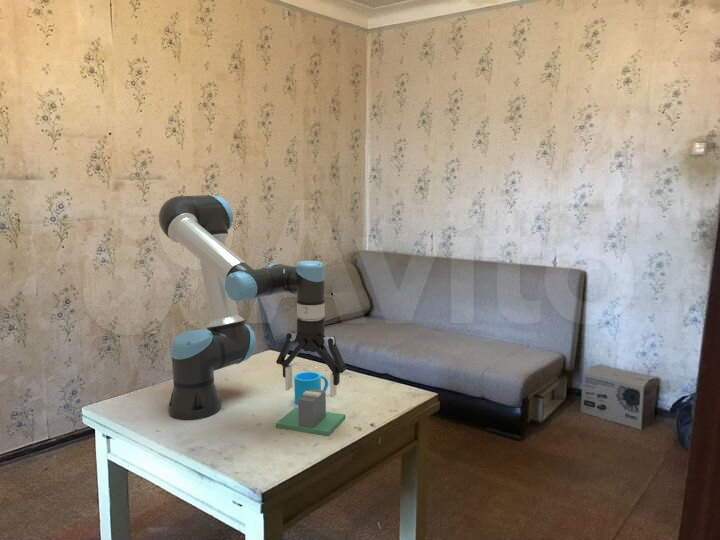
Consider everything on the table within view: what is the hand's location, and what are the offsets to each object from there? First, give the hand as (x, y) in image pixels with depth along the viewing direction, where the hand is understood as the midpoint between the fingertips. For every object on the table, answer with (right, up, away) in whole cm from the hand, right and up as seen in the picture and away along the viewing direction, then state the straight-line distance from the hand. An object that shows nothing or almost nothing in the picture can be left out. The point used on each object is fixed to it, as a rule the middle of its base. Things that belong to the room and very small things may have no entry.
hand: (310, 392), depth 151 cm
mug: (-1, -7, +20) cm, 21 cm away
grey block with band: (0, -8, +1) cm, 8 cm away
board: (0, -9, +2) cm, 9 cm away
